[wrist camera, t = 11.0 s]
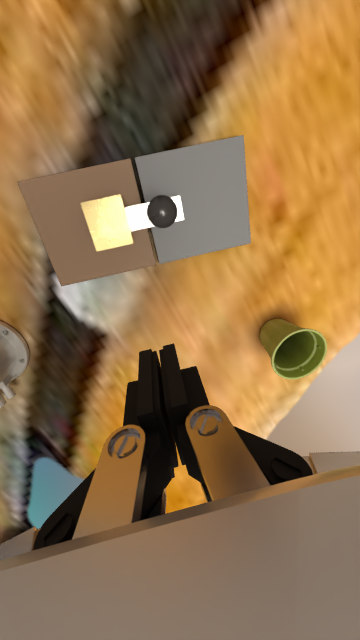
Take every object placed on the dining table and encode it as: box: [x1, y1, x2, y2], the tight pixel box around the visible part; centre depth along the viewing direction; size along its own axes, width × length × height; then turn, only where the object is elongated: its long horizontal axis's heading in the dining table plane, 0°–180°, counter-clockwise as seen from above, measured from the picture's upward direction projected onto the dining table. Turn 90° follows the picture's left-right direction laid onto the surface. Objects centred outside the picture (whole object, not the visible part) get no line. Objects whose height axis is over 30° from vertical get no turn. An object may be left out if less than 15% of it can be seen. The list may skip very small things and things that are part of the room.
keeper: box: [80, 194, 135, 251], centre depth 32 cm, size 6×5×4 cm
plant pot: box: [260, 319, 327, 379], centre depth 42 cm, size 9×9×9 cm
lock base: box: [17, 135, 251, 286], centre depth 34 cm, size 14×30×2 cm, turn 101°
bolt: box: [125, 195, 184, 231], centre depth 31 cm, size 4×12×6 cm, turn 101°
